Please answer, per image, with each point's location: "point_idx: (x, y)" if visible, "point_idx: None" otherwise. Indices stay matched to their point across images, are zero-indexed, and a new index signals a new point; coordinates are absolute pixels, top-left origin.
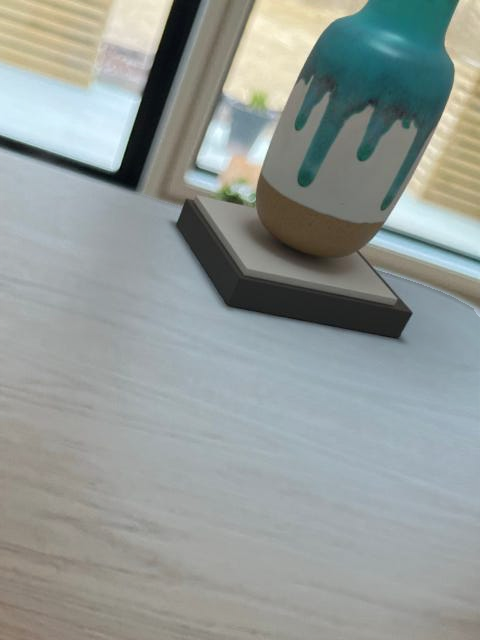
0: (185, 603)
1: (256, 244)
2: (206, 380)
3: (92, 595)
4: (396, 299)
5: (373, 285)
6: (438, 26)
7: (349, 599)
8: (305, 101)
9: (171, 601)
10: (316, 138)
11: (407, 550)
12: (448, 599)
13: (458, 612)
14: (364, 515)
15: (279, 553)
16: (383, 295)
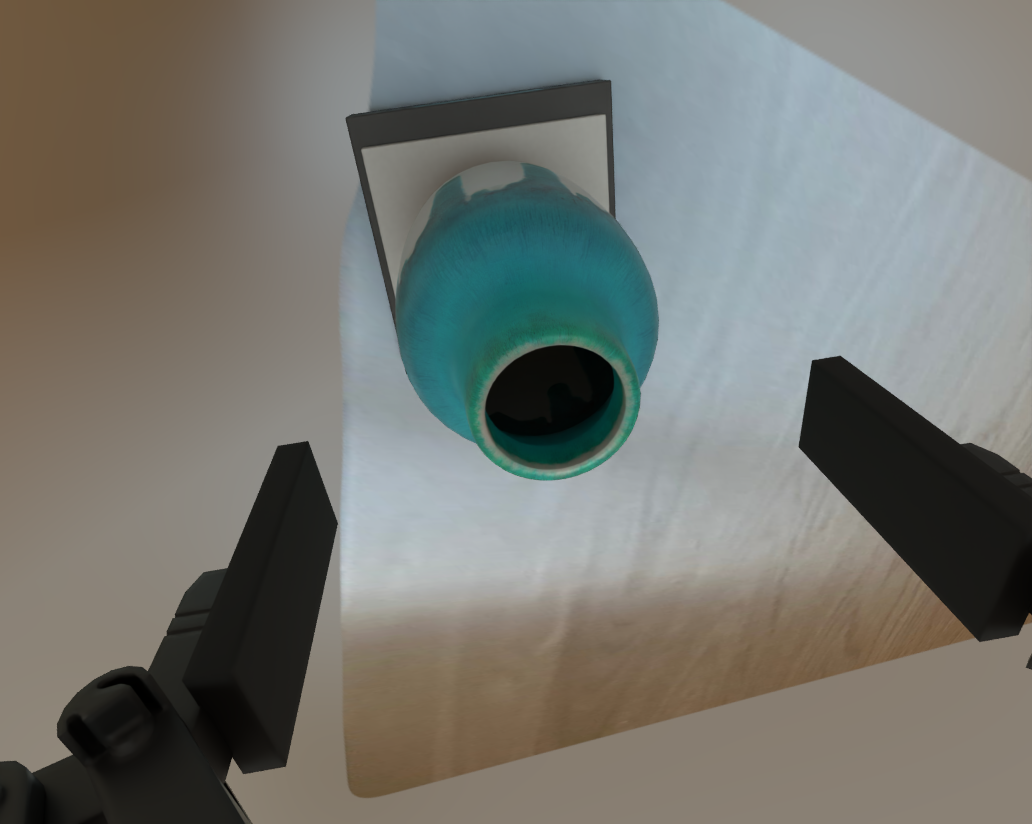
0: (1021, 421)
1: None
2: (770, 373)
3: None
4: (605, 116)
5: (577, 148)
6: (620, 337)
7: None
8: (554, 405)
9: (1018, 429)
10: (588, 367)
11: (1004, 242)
12: None
13: None
14: (958, 269)
15: (990, 354)
16: (605, 140)
